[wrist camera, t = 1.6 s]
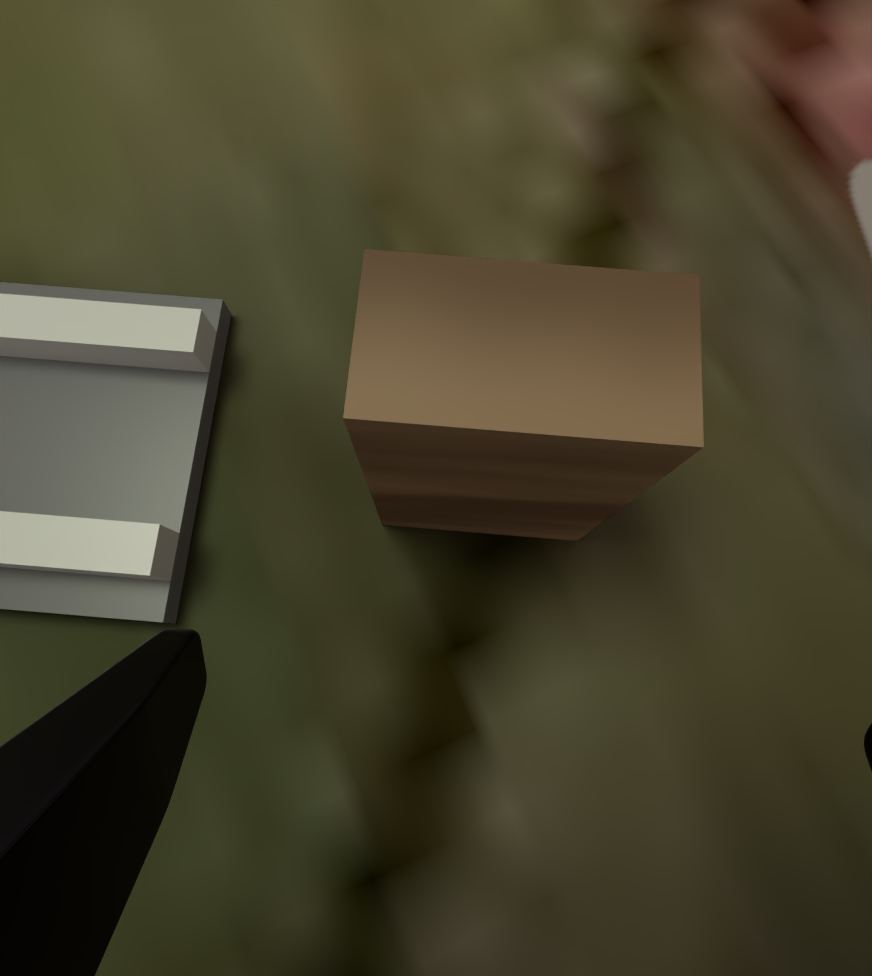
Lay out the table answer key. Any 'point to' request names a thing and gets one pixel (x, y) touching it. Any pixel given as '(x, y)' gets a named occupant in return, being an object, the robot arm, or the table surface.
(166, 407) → the track board
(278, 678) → the table surface
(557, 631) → the table surface
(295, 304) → the table surface
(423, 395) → the wooden block
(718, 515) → the table surface
